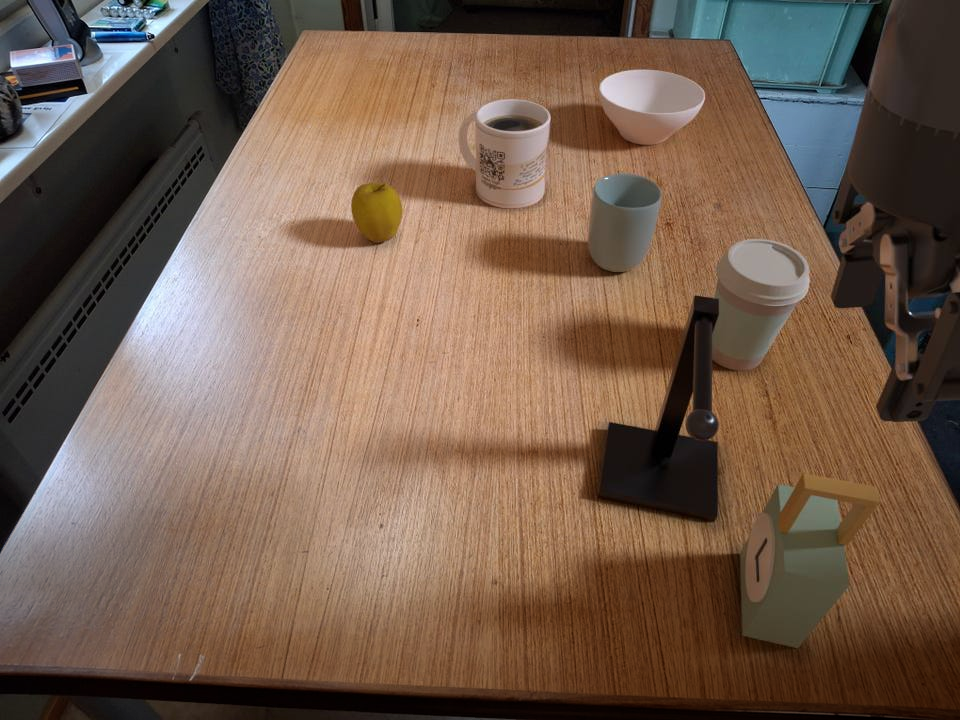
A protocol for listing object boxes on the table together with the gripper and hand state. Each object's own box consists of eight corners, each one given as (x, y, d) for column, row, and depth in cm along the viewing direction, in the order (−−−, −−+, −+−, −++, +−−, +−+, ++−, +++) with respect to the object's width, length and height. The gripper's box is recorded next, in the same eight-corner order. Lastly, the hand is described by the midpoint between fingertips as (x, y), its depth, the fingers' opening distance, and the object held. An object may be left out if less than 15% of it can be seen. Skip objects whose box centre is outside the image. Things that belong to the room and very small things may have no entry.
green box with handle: (793, 564, 55) (869, 450, 44) (800, 649, 50) (888, 544, 39) (734, 552, 55) (795, 437, 45) (736, 634, 51) (805, 527, 40)
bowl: (575, 140, 106) (580, 96, 101) (619, 103, 115) (625, 61, 110) (671, 169, 100) (681, 123, 95) (709, 127, 109) (720, 84, 104)
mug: (484, 215, 91) (484, 138, 83) (457, 172, 99) (455, 98, 91) (555, 201, 93) (562, 125, 85) (524, 160, 101) (527, 87, 93)
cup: (578, 244, 86) (587, 174, 79) (637, 241, 86) (652, 171, 79) (590, 282, 80) (601, 210, 73) (654, 279, 81) (671, 207, 74)
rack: (714, 449, 63) (776, 296, 50) (714, 587, 53) (791, 442, 40) (607, 429, 65) (640, 276, 52) (588, 559, 55) (623, 411, 42)
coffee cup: (772, 389, 68) (814, 298, 60) (687, 368, 70) (716, 277, 62) (778, 336, 74) (816, 245, 65) (699, 317, 76) (726, 227, 68)
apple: (412, 244, 86) (407, 189, 80) (363, 256, 84) (355, 200, 79) (396, 219, 90) (391, 164, 84) (350, 229, 88) (341, 174, 83)
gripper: (1210, 167, 21) (1002, 459, 33) (1004, -8, 30) (901, 267, 42) (944, 191, 22) (836, 464, 34) (826, 17, 32) (774, 277, 43)
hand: (872, 355), depth 38 cm, fingers open, 8 cm apart
